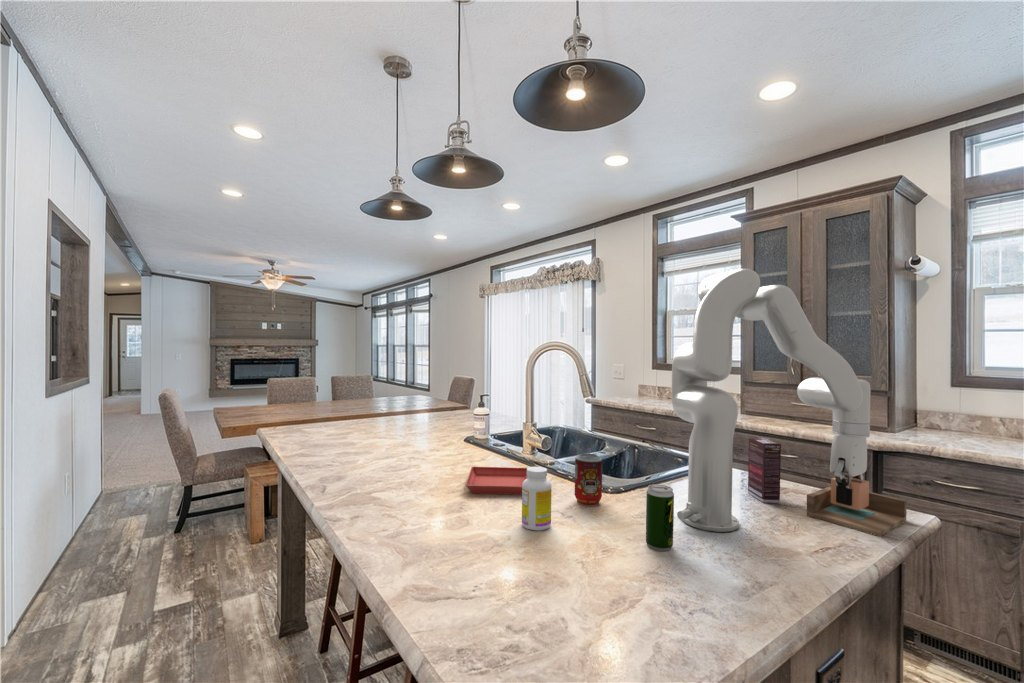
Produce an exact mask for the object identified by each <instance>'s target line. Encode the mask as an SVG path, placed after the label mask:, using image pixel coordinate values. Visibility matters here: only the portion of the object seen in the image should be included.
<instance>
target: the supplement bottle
mask: <svg viewBox="0 0 1024 683" xmlns="http://www.w3.org/2000/svg"><path fill="white" fill-rule="evenodd" d="M526 468H527V476H528V478H527V479H525V480H524V481H523V484H522V494H521V525H522V527H524V528H525V529H527V530H530V531H539V532H540V531H544V530H547V529H549V528H550V527H551V524H552V483H551V481H550V480H549V479H547V476H548V469H547V468H546V467H543V466H528V467H526Z"/></svg>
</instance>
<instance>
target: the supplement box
mask: <svg viewBox="0 0 1024 683" xmlns="http://www.w3.org/2000/svg"><path fill="white" fill-rule="evenodd" d="M781 450H782V443H779V442H776V441H773V440H771V439H768V438H766V437H757V436H755V437H753V436H751V437H748V463H747V464H748V466H747V468H748V472H747V476H748V477H747V494H749V495H751V496H752V497H754V498H755V499H757V500H759V501H760V502H761V503H766V504H780V503H781V462H782V461H781V460H782V458H781V456H782V453H781V452H782V451H781Z"/></svg>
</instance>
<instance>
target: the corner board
mask: <svg viewBox="0 0 1024 683" xmlns="http://www.w3.org/2000/svg"><path fill="white" fill-rule="evenodd" d="M907 503H908V502H907V500H906V499H902V498H898V497H895V496H891V495H890V496H889V495H885V494H881V493H876V492H872V491H869V506H867V507H865V508H863V509H861V510H856V509H852V508H848V507H845V506H841V505H837V504H833V503H831V485H829V486H826V487H825V488H822V489H819V490H816V491H814V492H811V493H809V494H806V512H805V514H806V516H808V517H812V518H815V519H819V520H821V519H822V521H826V522H828V523H832V524H835V523H836V525H839V526H842V525H843V527H846V528H849V527H850V529H852V528H853V530H856V529H857V530H856V531H859V530H861V531H860V532H863V531H864V533H866V532H868V534H870V533H872V534H871V535H873V534H875V535H874V536H877V535H879V536H878V537H880V536H881V537H882V535H883V534H884V535H886V534H887V533H889V532H890V531H889V530H891V529H892V530H894V529H896V528H897V527H899V526H900V524H901V525H903V524H904V523H906V522H907V514H908V513H907V512H908V511H907V510H908V509H907V507H908V506H907V505H908V504H907ZM903 522H904V523H903ZM898 525H899V526H898ZM896 526H897V527H896ZM895 527H896V528H895ZM893 528H894V529H893ZM892 530H891V531H892ZM888 531H889V532H888ZM886 532H887V533H886ZM885 533H886V534H885ZM884 535H883V536H884Z"/></svg>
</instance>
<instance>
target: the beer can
mask: <svg viewBox="0 0 1024 683" xmlns="http://www.w3.org/2000/svg"><path fill="white" fill-rule="evenodd" d="M673 490H674V489H673V487H671V486H670V485H664V484H659V483H658V484H657V483H656V484H655V483H653V484H649V485H648V486H647V490H646V496H645V497H646V500H645V501H646V504H645V505H646V507H645V508H646V509H645V512H646V513H645V544H646V545H647V547H648V548H649V549H651V550H653V551H657V552H669V551H671V550H672V548H673V546H674V519H675V518H674V516H675V515H674V514H675V513H674V511H675V509H674V508H675V507H674V506H675V493H674V491H673Z"/></svg>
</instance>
